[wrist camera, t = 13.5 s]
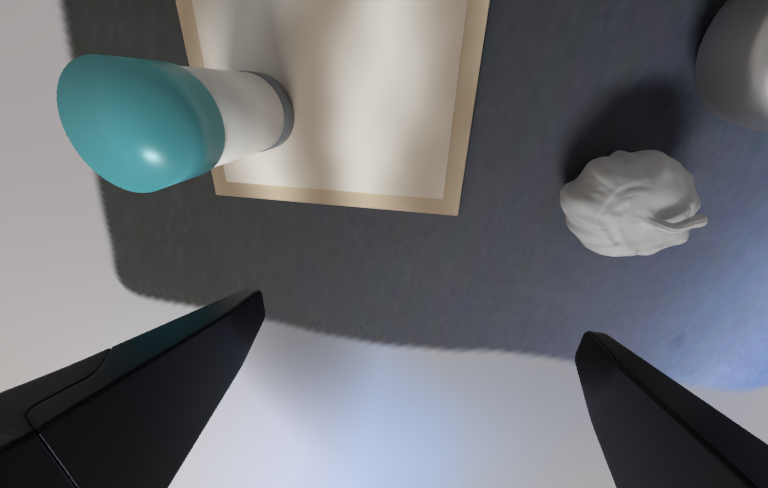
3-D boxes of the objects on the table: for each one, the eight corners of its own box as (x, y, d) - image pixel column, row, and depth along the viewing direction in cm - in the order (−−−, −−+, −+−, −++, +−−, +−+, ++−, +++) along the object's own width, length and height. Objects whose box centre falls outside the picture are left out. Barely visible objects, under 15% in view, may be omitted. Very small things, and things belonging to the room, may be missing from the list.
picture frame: (538, -336, 11) (543, -358, 10) (457, 212, 20) (457, 216, 19) (124, -286, 13) (110, -302, 12) (220, 192, 22) (215, 195, 21)
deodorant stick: (291, 72, 17) (158, 56, 9) (298, 151, 19) (193, 197, 11) (220, 69, 18) (33, 52, 9) (233, 147, 19) (87, 188, 11)
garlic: (690, 160, 17) (786, 187, 12) (627, 247, 19) (687, 297, 14) (579, 127, 17) (633, 142, 12) (531, 218, 19) (561, 259, 15)
